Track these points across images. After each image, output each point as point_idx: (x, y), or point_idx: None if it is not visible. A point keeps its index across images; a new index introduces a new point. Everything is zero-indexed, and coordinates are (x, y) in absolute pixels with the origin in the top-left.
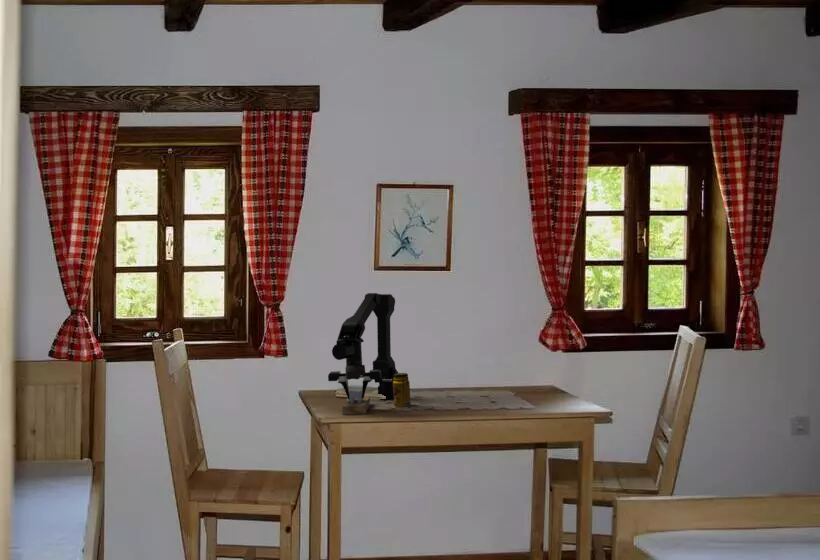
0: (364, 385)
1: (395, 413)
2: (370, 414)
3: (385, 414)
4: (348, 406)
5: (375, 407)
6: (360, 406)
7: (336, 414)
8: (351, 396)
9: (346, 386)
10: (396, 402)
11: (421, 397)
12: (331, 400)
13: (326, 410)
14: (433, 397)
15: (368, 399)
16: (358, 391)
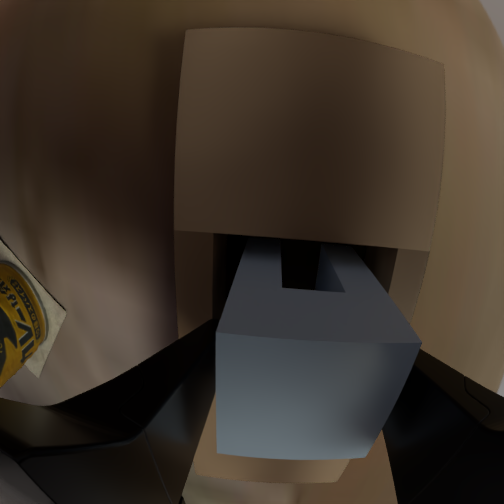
0: (100, 417)
1: (20, 76)
2: (164, 36)
3: (68, 39)
4: (381, 47)
5: (148, 337)
6: (240, 32)
7: (452, 123)
8: (371, 303)
9: (487, 420)
10: (6, 287)
11: None
12: (378, 499)
13: (485, 312)
14: None
15: None
16: (258, 351)
